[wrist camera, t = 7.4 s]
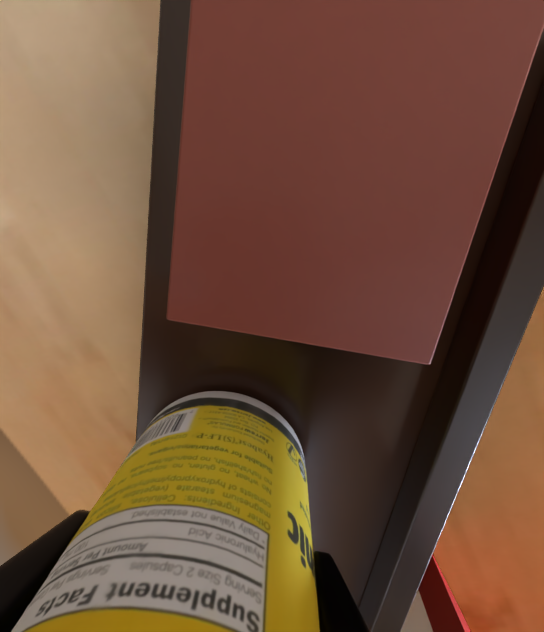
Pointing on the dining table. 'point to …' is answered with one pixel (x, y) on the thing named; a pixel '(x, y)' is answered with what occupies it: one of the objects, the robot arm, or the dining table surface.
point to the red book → (340, 163)
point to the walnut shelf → (362, 363)
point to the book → (434, 605)
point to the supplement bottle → (193, 531)
